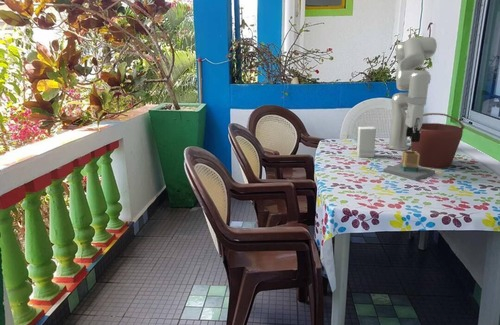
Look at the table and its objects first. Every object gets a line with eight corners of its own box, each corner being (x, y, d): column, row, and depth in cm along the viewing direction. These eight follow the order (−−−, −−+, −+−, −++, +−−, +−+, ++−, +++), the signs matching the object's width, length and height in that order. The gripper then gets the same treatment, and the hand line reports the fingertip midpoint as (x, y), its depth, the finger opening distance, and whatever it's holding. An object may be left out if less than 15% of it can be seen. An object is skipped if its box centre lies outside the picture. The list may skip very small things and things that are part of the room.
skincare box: (371, 154, 207) (374, 126, 203) (374, 157, 201) (376, 128, 196) (356, 154, 208) (358, 126, 204) (358, 157, 201) (360, 128, 197)
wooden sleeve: (400, 167, 178) (402, 150, 176) (414, 167, 177) (416, 151, 175) (403, 171, 172) (405, 154, 170) (417, 171, 171) (419, 154, 169)
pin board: (402, 165, 186) (404, 152, 184) (434, 173, 173) (436, 159, 172) (383, 171, 177) (384, 158, 175) (415, 180, 164) (417, 166, 163)
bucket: (402, 165, 186) (407, 114, 179) (407, 155, 205) (412, 109, 198) (458, 172, 175) (466, 118, 168) (458, 161, 194) (466, 112, 187)
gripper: (403, 98, 175) (399, 134, 180) (413, 103, 159) (408, 143, 164) (420, 98, 174) (416, 135, 179) (432, 104, 158) (426, 144, 163)
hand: (412, 139), depth 171 cm, fingers open, 9 cm apart
